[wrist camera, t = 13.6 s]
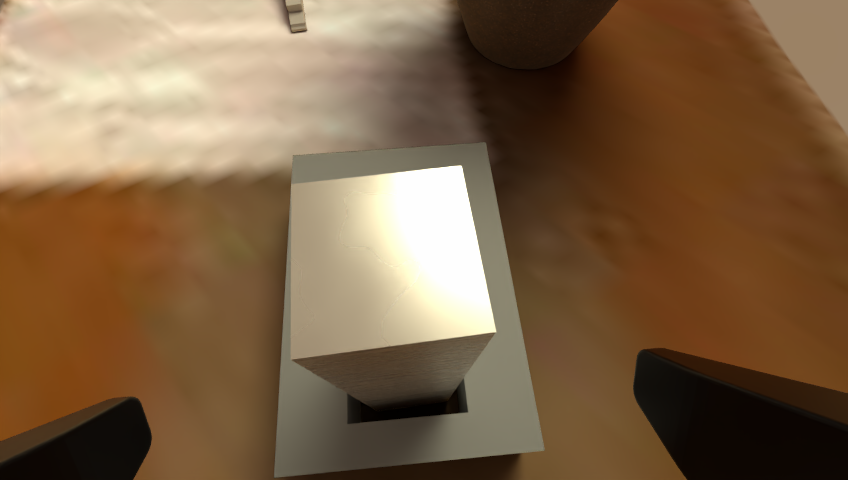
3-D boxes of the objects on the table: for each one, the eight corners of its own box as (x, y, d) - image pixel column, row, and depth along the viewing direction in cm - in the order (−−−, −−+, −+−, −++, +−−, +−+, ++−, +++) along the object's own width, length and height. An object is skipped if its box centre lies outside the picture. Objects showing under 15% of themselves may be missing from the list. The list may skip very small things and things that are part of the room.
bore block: (521, 447, 17) (544, 450, 14) (302, 470, 17) (273, 477, 14) (476, 183, 23) (485, 142, 19) (311, 195, 22) (292, 155, 19)
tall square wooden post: (447, 401, 18) (496, 331, 6) (377, 411, 18) (290, 359, 6) (436, 332, 19) (460, 166, 7) (372, 341, 19) (291, 184, 7)
